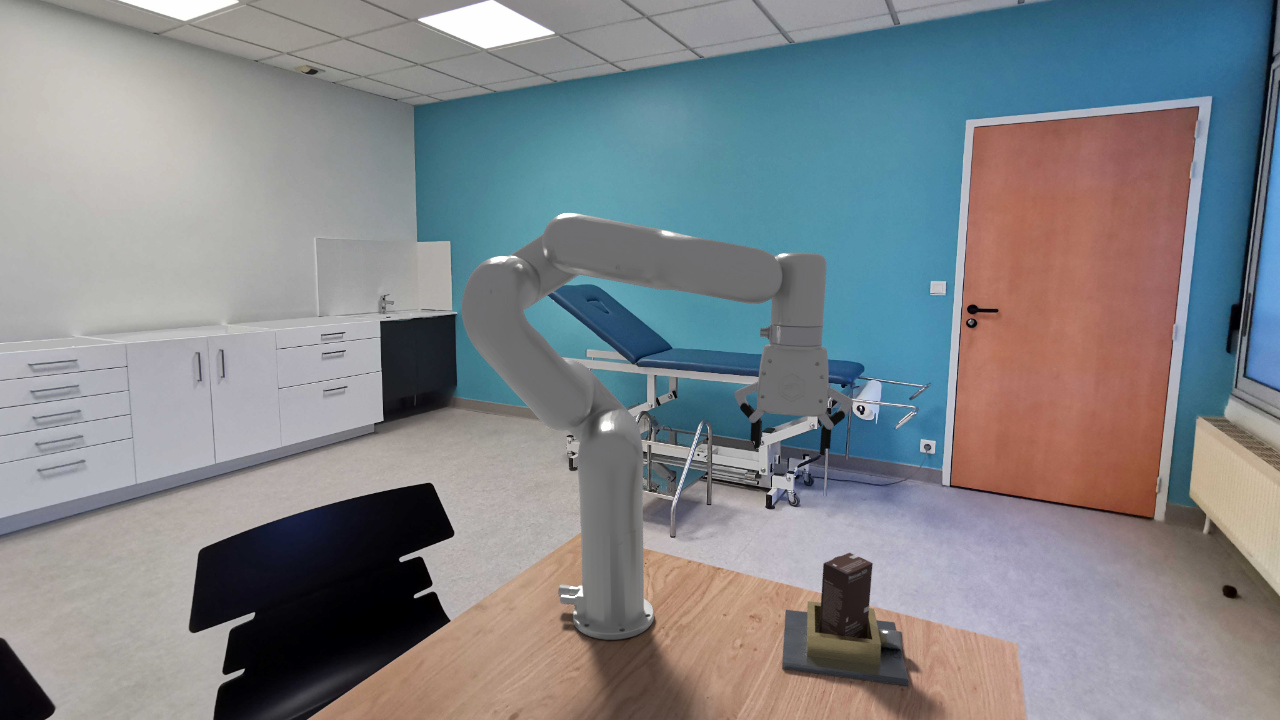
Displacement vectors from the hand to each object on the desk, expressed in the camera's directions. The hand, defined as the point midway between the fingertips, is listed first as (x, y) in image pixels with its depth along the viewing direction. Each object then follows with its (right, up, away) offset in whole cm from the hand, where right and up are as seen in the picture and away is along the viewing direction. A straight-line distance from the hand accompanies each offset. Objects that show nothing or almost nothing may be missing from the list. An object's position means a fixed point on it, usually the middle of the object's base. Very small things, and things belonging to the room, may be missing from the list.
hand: (789, 449), depth 99 cm
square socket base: (+6, -28, -5) cm, 29 cm away
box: (+7, -27, -5) cm, 28 cm away
